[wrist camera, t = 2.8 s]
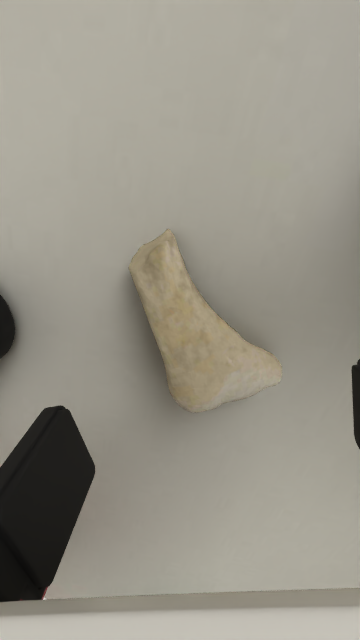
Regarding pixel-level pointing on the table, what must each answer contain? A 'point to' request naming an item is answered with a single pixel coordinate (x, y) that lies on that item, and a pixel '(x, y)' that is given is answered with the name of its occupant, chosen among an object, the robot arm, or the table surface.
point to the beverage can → (5, 328)
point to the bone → (196, 334)
